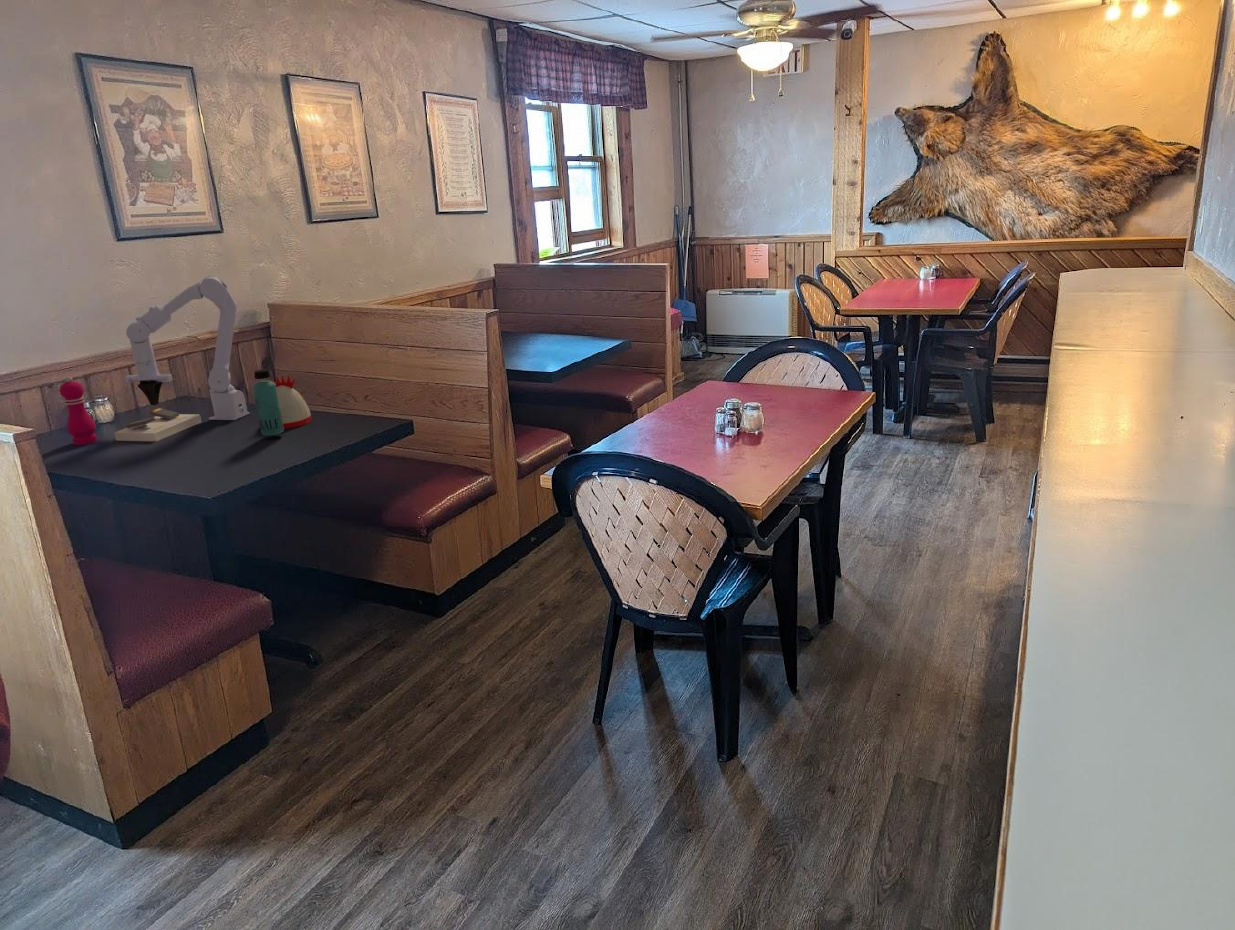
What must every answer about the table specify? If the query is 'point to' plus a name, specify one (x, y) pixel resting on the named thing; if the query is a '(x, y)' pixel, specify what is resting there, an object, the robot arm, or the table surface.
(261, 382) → the beverage bottle
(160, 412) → the block
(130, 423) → the block
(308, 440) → the table surface
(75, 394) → the pepper mill
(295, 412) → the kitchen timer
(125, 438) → the switch console
